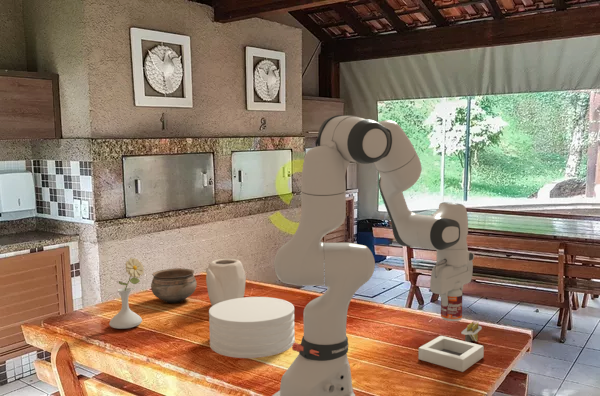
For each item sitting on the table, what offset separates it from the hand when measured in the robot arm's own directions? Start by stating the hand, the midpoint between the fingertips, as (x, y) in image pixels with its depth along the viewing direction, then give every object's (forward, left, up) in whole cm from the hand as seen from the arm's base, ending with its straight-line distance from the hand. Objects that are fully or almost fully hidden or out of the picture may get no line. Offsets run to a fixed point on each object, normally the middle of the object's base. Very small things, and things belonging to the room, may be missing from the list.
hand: (451, 302), depth 155 cm
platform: (+16, +1, -18) cm, 24 cm away
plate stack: (-29, +56, -18) cm, 66 cm away
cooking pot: (-18, +118, -17) cm, 121 cm away
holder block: (0, 0, -17) cm, 17 cm away
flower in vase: (-48, +103, -17) cm, 115 cm away
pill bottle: (0, 0, -5) cm, 5 cm away
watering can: (-10, +94, -17) cm, 96 cm away
